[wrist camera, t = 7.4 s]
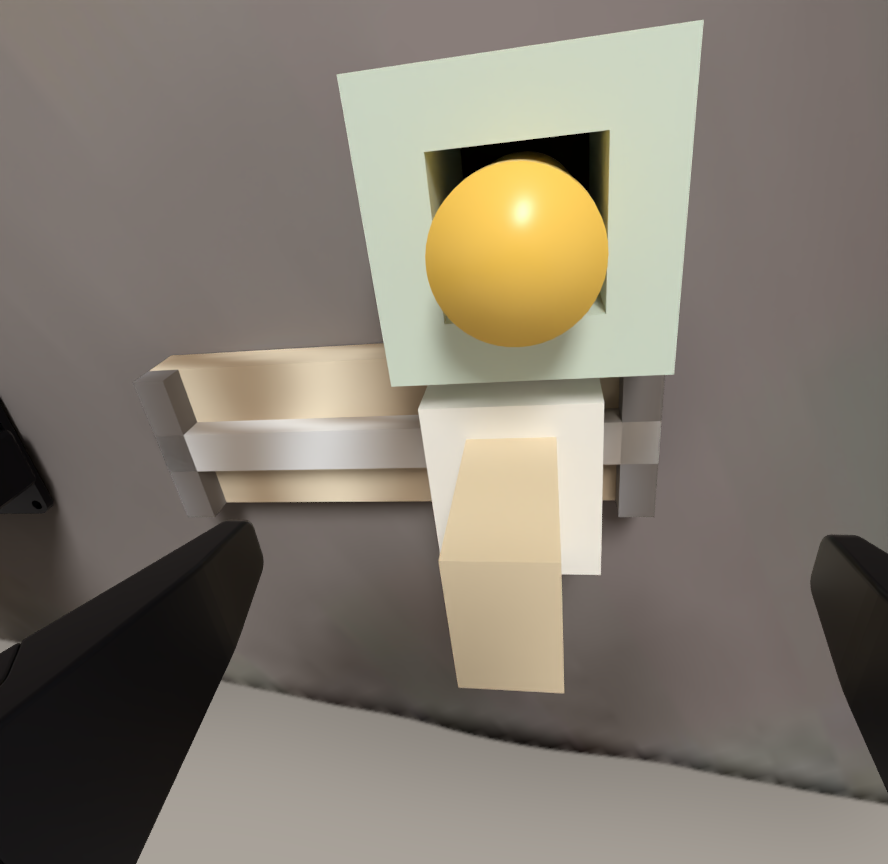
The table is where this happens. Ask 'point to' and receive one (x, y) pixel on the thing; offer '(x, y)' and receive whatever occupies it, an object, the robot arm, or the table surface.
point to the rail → (342, 429)
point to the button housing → (522, 118)
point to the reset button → (517, 251)
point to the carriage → (513, 519)
